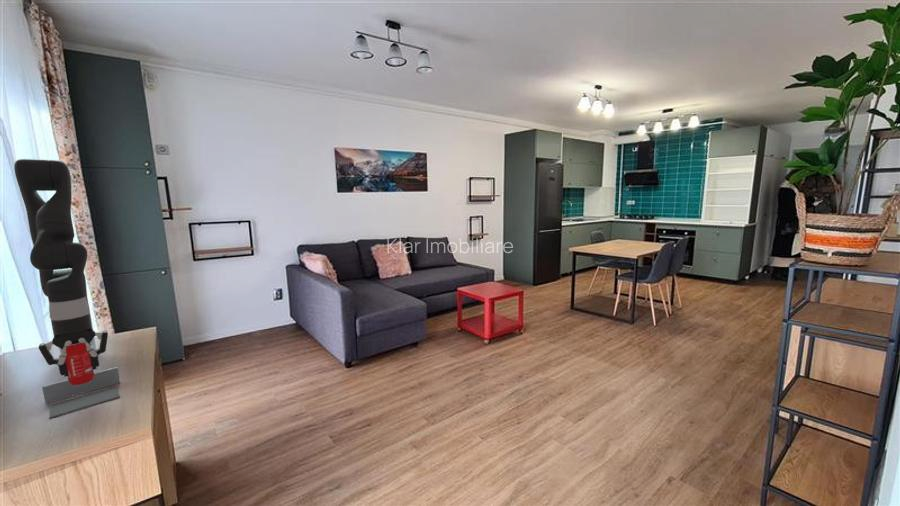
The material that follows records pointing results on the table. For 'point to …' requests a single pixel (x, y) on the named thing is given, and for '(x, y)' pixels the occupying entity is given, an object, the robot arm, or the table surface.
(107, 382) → the low wall
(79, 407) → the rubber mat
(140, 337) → the table surface
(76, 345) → the beverage can
